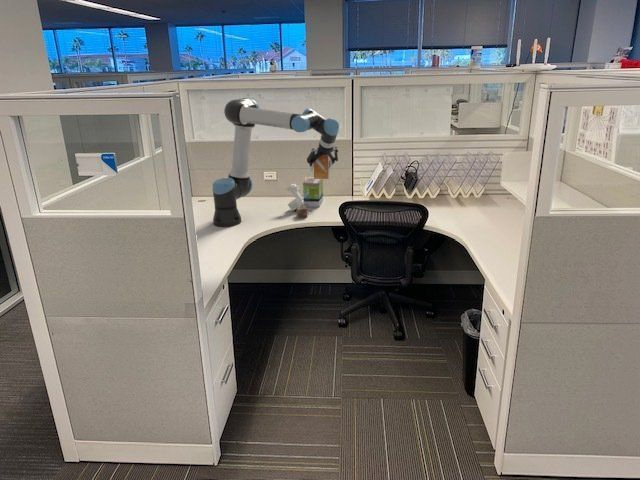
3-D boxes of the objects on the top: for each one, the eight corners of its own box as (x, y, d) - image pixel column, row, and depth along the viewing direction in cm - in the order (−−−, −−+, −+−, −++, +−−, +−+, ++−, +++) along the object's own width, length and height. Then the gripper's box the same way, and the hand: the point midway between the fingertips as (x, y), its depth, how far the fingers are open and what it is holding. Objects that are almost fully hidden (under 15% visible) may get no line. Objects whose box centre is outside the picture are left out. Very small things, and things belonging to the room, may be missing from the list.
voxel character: (309, 204, 267) (293, 182, 265) (294, 215, 272) (278, 194, 270) (312, 200, 273) (297, 179, 271) (298, 211, 278) (282, 191, 276)
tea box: (319, 207, 279) (319, 182, 273) (303, 207, 280) (302, 182, 275) (323, 200, 292) (323, 177, 287) (307, 200, 294) (306, 177, 289)
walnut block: (298, 218, 260) (298, 209, 258) (296, 215, 265) (296, 207, 263) (307, 217, 261) (307, 208, 259) (305, 214, 266) (305, 206, 264)
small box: (313, 179, 255) (313, 155, 251) (315, 176, 261) (314, 153, 257) (328, 179, 255) (328, 155, 250) (329, 176, 261) (329, 153, 256)
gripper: (307, 150, 235) (301, 175, 255) (349, 147, 240) (340, 172, 260) (304, 138, 238) (299, 163, 258) (346, 135, 243) (338, 160, 263)
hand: (320, 167), depth 259 cm, fingers closed on small box, 9 cm apart
